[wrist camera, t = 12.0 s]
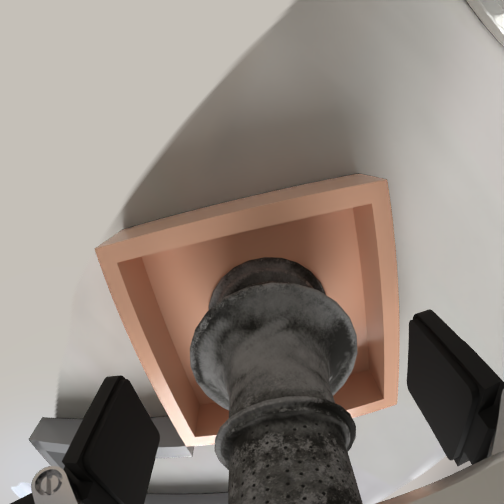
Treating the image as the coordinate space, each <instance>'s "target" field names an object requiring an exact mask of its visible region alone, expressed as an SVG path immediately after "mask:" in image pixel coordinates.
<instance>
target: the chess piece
mask: <svg viewBox="0 0 504 504" xmlns="http://www.w3.org/2000/svg"><path fill="white" fill-rule="evenodd" d="M357 353H358V351H357V334H356V332H355V329H354V327H353V324H352V322H351V319H350V317H349V316H348V315H347V313H346V312H345V311H344V310H343V309H342V308H341V306H340V305H339V304H338V303H337V302H336V301H335V300H333V299H331V298H330V297H328V296H327V295H326V293H325V291H324V289H323V286H322V284H321V282H320V281H319V280H318V279H317V278H316V277H315V275H314V274H313V273H312V272H311V271H310V270H308V269H307V268H305V267H304V266H302V265H300V264H299V263H297V262H294V261H291V260H287V259H284V258H275V257H263V258H258V259H253V260H248V261H246V262H244V263H242V264H240V265H238V266H236V267H234V268H233V269H231V270H230V271H229V272H228V273H227V274H226V275H224V276H223V277H222V278H221V280H220V281H219V283H218V284H217V286H216V287H215V289H214V290H213V293H212V296H211V299H210V302H209V311H207V312H206V314H205V315H204V317H203V318H202V320H201V321H200V323H199V324H198V326H197V327H196V329H195V332H194V335H193V338H192V342H191V345H190V366H191V369H192V372H193V374H194V377H195V379H196V382H197V384H198V385H199V386H200V387H201V389H202V390H203V391H204V392H205V394H206V395H207V396H208V397H209V398H210V399H212V400H213V401H214V402H216V403H217V404H218V405H220V406H221V407H222V408H225V409H227V410H229V419H228V420H227V421H226V422H225V423H224V424H223V425H222V426H221V427H220V429H219V431H218V433H217V435H216V437H215V453H216V455H217V457H218V459H219V461H220V462H221V463H222V464H223V465H224V466H225V467H226V468H227V469H228V470H229V486H228V504H362V500H361V497H360V493H359V490H358V486H357V483H356V479H355V476H354V472H353V469H352V466H351V462H350V459H349V456H348V451H349V450H350V448H351V446H352V444H353V442H354V440H355V436H356V426H355V423H354V421H353V419H352V417H351V414H350V413H349V412H347V411H346V410H345V409H344V408H343V407H342V406H341V405H338V404H336V403H335V401H334V398H333V395H334V394H335V393H336V392H337V391H338V390H339V389H340V388H341V387H342V386H343V385H344V384H345V382H346V380H347V379H348V377H349V375H350V374H351V372H352V370H353V368H354V364H355V360H356V357H357Z"/></svg>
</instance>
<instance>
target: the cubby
mask: <svg viewBox="0 0 504 504" xmlns="http://www.w3.org/2000/svg"><path fill="white" fill-rule="evenodd" d="M82 420H83V419H63V418H44V417H43V418H42V419H41V420H40V422H39V424H38V425H37V427H36V428H35V430H34V432H33V433H32V435H31V436H30V438H29V441H30V442H31V443H32V444H33V446H34V447H35V448H36V449H37V450H38V452H39V453H40V454H41V455H42V456H43V457H44V459H45V460H46V461H47V462H48V463H49V464H50V465H51V466H57V467H60V468H62V469H64V467H65V465H64V464H63V463H62V460H63V458H64V456H65V454H66V452H67V450H68V448H69V446H70V444H71V442H72V440H73V438H74V436H75V434H76V432H77V430H78V428H79V426H80V424H81V422H82ZM151 420H152V421H153V423H154V425H155V426H156V428H157V429H158V431H159V434H160V442H159V446H158V450H157V454H156V458H180V457H193V450H194V446H188V447H186V445H185V444H184V442H183V440H182V439H181V437H180V435H179V434H178V432H177V430H176V428H175V427H174V425H173V423H172V421H171V420H170V418H169V417H155V418H151ZM144 504H228V492H227V493H212V494H146V498H145V502H144Z"/></svg>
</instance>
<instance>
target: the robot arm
mask: <svg viewBox="0 0 504 504" xmlns="http://www.w3.org/2000/svg"><path fill="white" fill-rule="evenodd" d="M466 1H467V2H468V4H469V5H470V7H471V8H472V9H473V11H474V12H475V13H476V15H477V16H478V17H479V19H480V20H481V21H482V23H483V24H484V25H485V26H486V27H487V29H488V30H489V31H490V32H491V33H492V34H493V36H494V37H495V38H496V39H497V40H498V41H499V42H500V43H501V44H502V45H503V46H504V0H466ZM407 386H408V390H409V392H410V393H411V395H412V397H413V398H414V400H415V402H416V403H417V405H418V407H419V409H420V410H421V412H422V414H423V415H424V417H425V419H426V420H427V422H428V424H429V426H430V427H431V429H432V431H433V433H434V434H435V436H436V438H437V440H438V441H439V443H440V445H441V447H442V448H443V450H444V452H445V454H446V456H447V457H448V459H449V460H453V459H454V460H455V462H456V464H457V466H459V465H461V464H463V463H465V462H467V461H470V462H471V464H472V465H471V466H469V467H467V468H465V469H463V470H461V471H458V472H456V473H454V474H452V475H450V476H448V477H445V478H443V479H441V480H439V481H436V482H434V483H431V484H429V485H426V486H424V487H421V488H419V489H416V490H413V491H411V492H408V493H406V494H403V495H400V496H397V497H395V498H391V499H389V500H385V501H382V502H379V503H376V504H504V382H503V381H502V380H501V379H500V378H499V377H498V375H497V374H496V373H495V372H494V371H493V370H492V369H491V368H490V367H489V366H488V365H487V364H486V363H485V362H484V361H483V360H482V359H481V357H480V356H479V355H478V354H477V353H476V352H475V351H474V350H473V349H472V348H471V347H470V346H469V345H468V344H467V343H466V342H465V341H463V340H462V339H461V338H460V337H459V336H458V335H457V334H456V333H455V332H454V331H453V330H452V329H451V328H450V327H449V326H448V325H447V324H446V323H445V322H444V321H443V320H441V319H440V318H439V317H438V316H437V315H436V314H435V313H434V312H433V311H432V310H426V311H423V312H420V313H417V314H415V315H414V317H413V320H411V321H410V322H409V350H408V372H407ZM159 442H160V434H159V431H158V429H157V428H156V426H155V425H154V423H153V421H152V420H151V418H150V416H149V415H148V413H147V411H146V409H145V408H144V406H143V404H142V403H141V401H140V399H139V397H138V395H137V394H136V392H135V390H134V388H133V386H132V384H131V383H130V381H129V380H128V379H125V378H124V377H123V376H111V377H106V378H105V379H104V381H103V383H102V385H101V387H100V389H99V390H98V392H97V394H96V396H95V398H94V400H93V401H92V403H91V405H90V407H89V409H88V411H87V413H86V415H85V417H84V418H83V420H82V422H81V424H80V426H79V428H78V430H77V432H76V434H75V436H74V438H73V440H72V442H71V444H70V446H69V448H68V450H67V452H66V454H65V456H64V458H63V460H62V463H63V464H64V465H65V467H64V469H62V468H60V467H57V466H49V467H46V468H43V469H42V470H40V471H39V472H38V473H37V474H36V475H35V477H34V478H33V480H32V484H31V490H32V493H31V494H29V495H27V496H25V497H23V498H21V499H19V500H17V501H15V502H13V503H11V504H144V502H145V498H146V494H147V490H148V486H149V482H150V478H151V473H152V469H153V465H154V461H155V458H156V454H157V450H158V446H159Z"/></svg>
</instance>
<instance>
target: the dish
mask: <svg viewBox="0 0 504 504" xmlns="http://www.w3.org/2000/svg"><path fill="white" fill-rule="evenodd" d="M95 252H96V254H97V257H98V260H99V263H100V266H101V269H102V271H103V274H104V277H105V280H106V282H107V285H108V288H109V290H110V293H111V295H112V298H113V300H114V303H115V305H116V308H117V310H118V313H119V315H120V317H121V320H122V322H123V325H124V327H125V329H126V331H127V334H128V336H129V338H130V340H131V343H132V345H133V347H134V349H135V351H136V354H137V356H138V358H139V360H140V362H141V364H142V366H143V368H144V370H145V372H146V374H147V376H148V378H149V380H150V382H151V384H152V386H153V388H154V390H155V392H156V394H157V396H158V398H159V400H160V401H161V403H162V405H163V407H164V409H165V411H166V412H167V414H168V416H169V418H170V420H171V421H172V423H173V425H174V427H175V428H176V430H177V432H178V434H179V435H180V437H181V439H182V440H183V442H184V444H185V445H186V447H188V446H201V445H212V444H215V437H216V435H217V433H218V431H219V429H220V427H221V426H222V425H223V424H224V423H225V422H226V421H227V420H228V419H229V410H227V409H225V408H222V407H221V406H220V405H218V404H217V403H216V402H214V401H213V400H212V399H210V398H209V397H208V396H207V395H206V394H205V392H204V391H203V390H202V389H201V387H200V386H199V385H198V384H197V382H196V379H195V377H194V374H193V372H192V369H191V366H190V345H191V342H192V338H193V335H194V332H195V329H196V327H197V326H198V324H199V323H200V321H201V320H202V318H203V317H204V315H205V314H206V312H207V311H209V302H210V299H211V296H212V293H213V290H214V289H215V287H216V286H217V284H218V283H219V281H220V280H221V278H222V277H223V276H224V275H226V274H227V273H228V272H229V271H230V270H231V269H233V268H234V267H236V266H238V265H240V264H242V263H244V262H246V261H248V260H253V259H258V258H263V257H275V258H284V259H287V260H291V261H294V262H297V263H299V264H300V265H302V266H304V267H305V268H307V269H308V270H310V271H311V272H312V273H313V274H314V275H315V277H316V278H317V279H318V280H319V281H320V282H321V284H322V286H323V289H324V291H325V293H326V295H327V296H328V297H330V298H331V299H333V300H335V301H336V302H337V303H338V304H339V305H340V306H341V308H342V309H343V310H344V311H345V312H346V313H347V315H348V316H349V317H350V319H351V322H352V324H353V327H354V329H355V332H356V334H357V351H358V353H357V357H356V360H355V364H354V368H353V370H352V372H351V374H350V375H349V377H348V379H347V380H346V382H345V384H344V385H343V386H342V387H341V388H340V389H339V390H338V391H337V392H336V393H335V394H334V395H333V398H334V401H335V403H336V404H338V405H341V406H342V407H343V408H344V409H345V410H346V411H347V412H349V413H350V414H351V417H352V418H355V417H358V416H361V415H365V414H368V413H371V412H375V411H378V410H381V409H384V408H387V407H390V406H393V405H396V404H397V396H398V377H399V296H398V276H397V261H396V249H395V238H394V228H393V219H392V211H391V203H390V196H389V189H388V182H387V179H382V178H378V177H373V176H368V175H363V174H359V173H358V174H353V175H348V176H343V177H337V178H332V179H327V180H322V181H318V182H313V183H308V184H303V185H298V186H294V187H289V188H285V189H280V190H276V191H271V192H267V193H262V194H258V195H254V196H249V197H245V198H241V199H237V200H232V201H228V202H224V203H220V204H216V205H212V206H208V207H204V208H200V209H196V210H192V211H188V212H184V213H181V214H177V215H173V216H169V217H166V218H162V219H158V220H155V221H151V222H147V223H144V224H140V225H137V226H133V227H130V228H126V229H123V230H121V231H120V232H118V233H117V234H115V235H114V236H112V237H111V238H109V239H108V240H106V241H105V242H104V243H102V244H101V245H99V246H98V247H96V248H95Z"/></svg>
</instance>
